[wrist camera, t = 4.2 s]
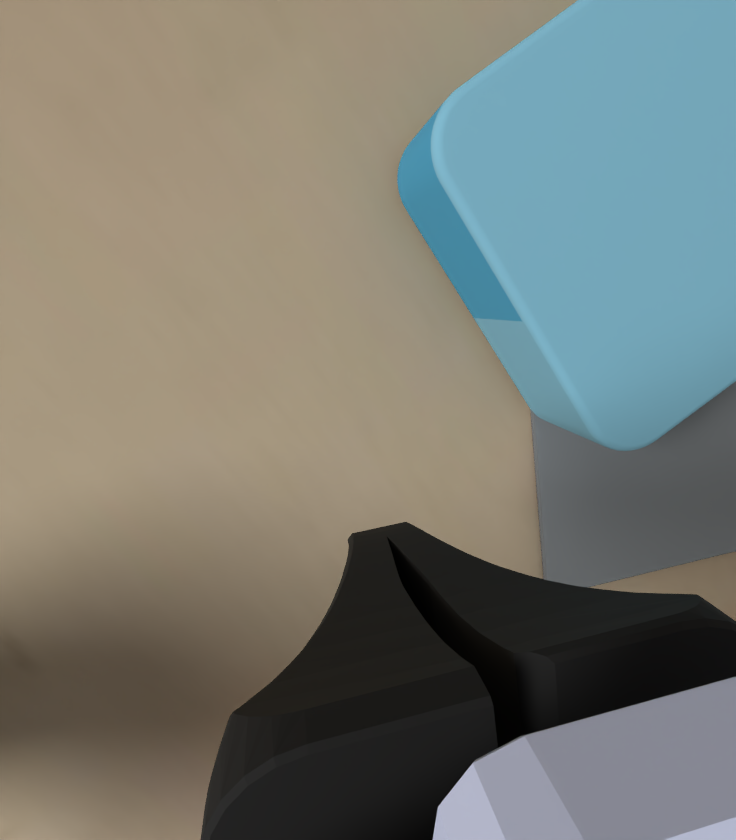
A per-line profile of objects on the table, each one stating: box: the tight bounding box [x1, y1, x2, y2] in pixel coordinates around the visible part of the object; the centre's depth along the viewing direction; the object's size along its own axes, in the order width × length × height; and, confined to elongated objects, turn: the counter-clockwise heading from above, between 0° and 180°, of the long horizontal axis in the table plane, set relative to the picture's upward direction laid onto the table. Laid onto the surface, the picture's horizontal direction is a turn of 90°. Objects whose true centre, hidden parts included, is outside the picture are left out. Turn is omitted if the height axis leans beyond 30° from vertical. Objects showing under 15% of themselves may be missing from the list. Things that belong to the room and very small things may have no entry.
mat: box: [530, 381, 736, 587], centre depth 22 cm, size 18×16×1 cm
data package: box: [398, 0, 736, 451], centre depth 18 cm, size 12×4×12 cm
